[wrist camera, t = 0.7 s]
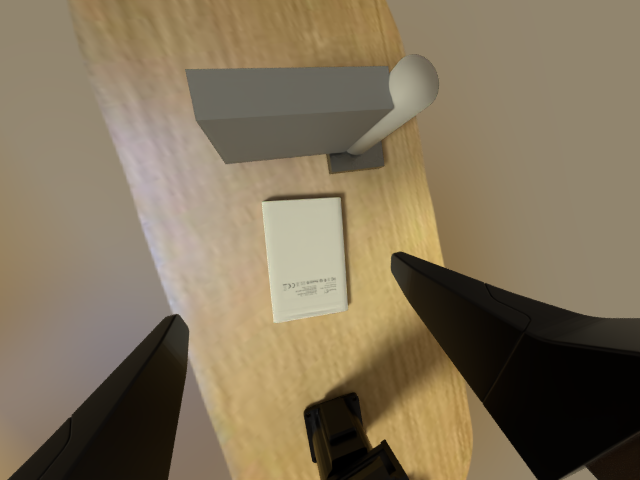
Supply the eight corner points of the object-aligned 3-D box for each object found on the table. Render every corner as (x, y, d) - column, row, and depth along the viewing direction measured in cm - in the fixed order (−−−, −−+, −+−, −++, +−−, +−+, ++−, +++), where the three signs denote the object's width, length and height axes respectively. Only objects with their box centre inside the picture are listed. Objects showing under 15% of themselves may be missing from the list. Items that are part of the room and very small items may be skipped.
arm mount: (379, 168, 26) (384, 166, 25) (329, 174, 24) (331, 172, 23) (372, 112, 25) (377, 108, 24) (320, 116, 24) (322, 111, 23)
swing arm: (371, 153, 24) (441, 107, 14) (227, 168, 21) (194, 123, 11) (367, 122, 24) (436, 54, 14) (220, 132, 20) (179, 54, 11)
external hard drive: (336, 198, 25) (344, 306, 26) (261, 202, 24) (273, 318, 25) (341, 196, 24) (349, 311, 25) (261, 201, 22) (273, 324, 23)
